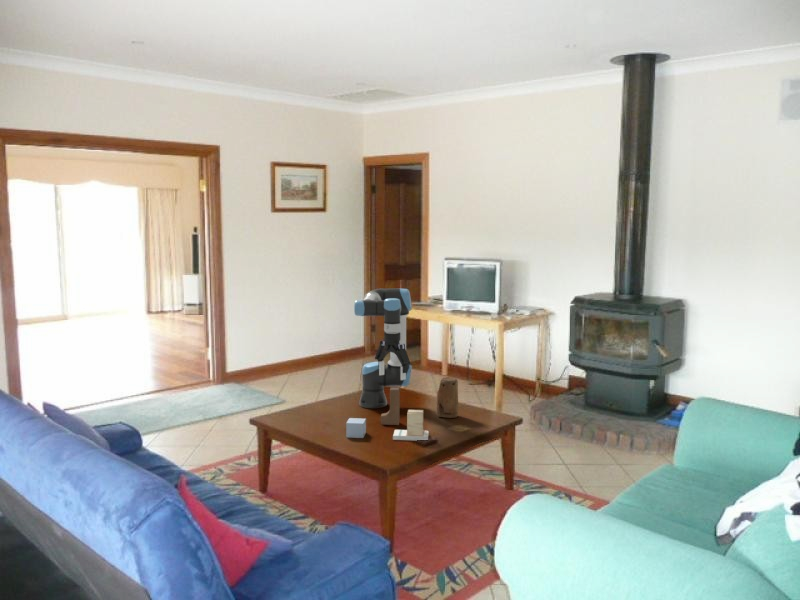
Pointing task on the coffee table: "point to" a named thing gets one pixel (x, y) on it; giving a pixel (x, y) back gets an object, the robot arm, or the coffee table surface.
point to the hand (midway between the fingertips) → (392, 377)
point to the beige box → (415, 422)
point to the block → (447, 398)
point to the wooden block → (392, 409)
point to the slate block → (356, 428)
